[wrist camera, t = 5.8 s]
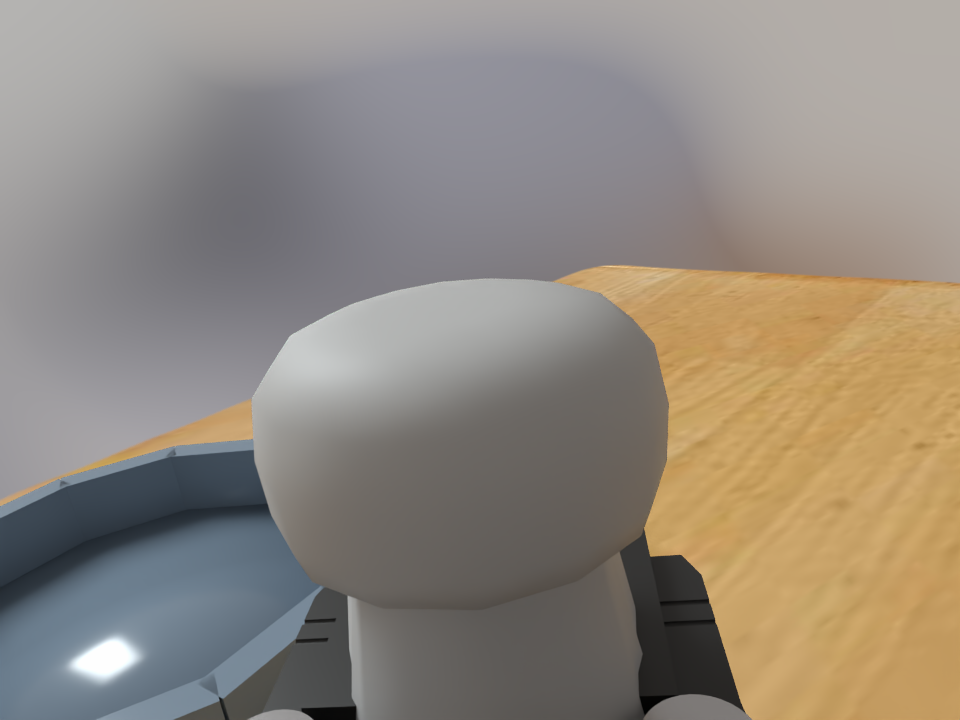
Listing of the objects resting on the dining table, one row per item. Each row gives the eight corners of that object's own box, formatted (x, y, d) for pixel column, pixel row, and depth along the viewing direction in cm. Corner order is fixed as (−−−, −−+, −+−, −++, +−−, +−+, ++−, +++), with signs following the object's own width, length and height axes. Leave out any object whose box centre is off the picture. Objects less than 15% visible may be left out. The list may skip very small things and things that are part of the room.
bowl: (431, 496, 30) (419, 425, 29) (316, 899, 15) (281, 782, 14) (68, 523, 32) (44, 457, 31) (-346, 900, 17) (-419, 798, 16)
